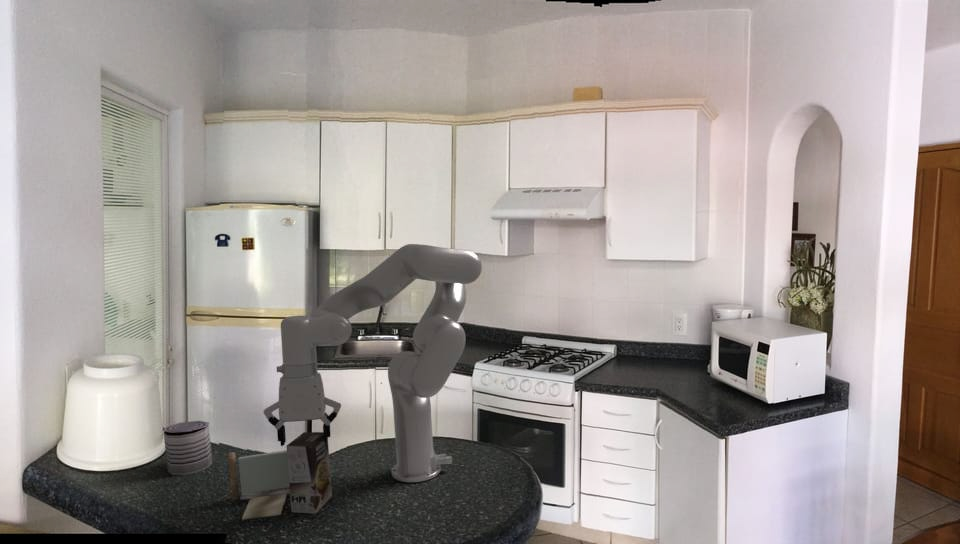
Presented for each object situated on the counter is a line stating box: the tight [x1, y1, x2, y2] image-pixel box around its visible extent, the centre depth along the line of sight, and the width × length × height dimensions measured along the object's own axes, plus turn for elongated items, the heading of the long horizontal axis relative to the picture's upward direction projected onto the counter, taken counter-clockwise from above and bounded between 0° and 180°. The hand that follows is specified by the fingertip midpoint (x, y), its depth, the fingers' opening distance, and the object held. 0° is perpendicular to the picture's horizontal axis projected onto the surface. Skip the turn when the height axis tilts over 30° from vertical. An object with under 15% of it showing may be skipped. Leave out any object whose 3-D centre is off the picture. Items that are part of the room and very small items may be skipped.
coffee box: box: [285, 431, 333, 515], centre depth 150 cm, size 9×6×16 cm
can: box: [161, 420, 213, 476], centre depth 176 cm, size 11×11×12 cm
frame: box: [227, 451, 290, 501], centre depth 156 cm, size 18×3×11 cm, turn 99°
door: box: [237, 449, 290, 495], centre depth 157 cm, size 12×1×9 cm, turn 105°
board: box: [241, 494, 288, 521], centre depth 150 cm, size 8×10×1 cm
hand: (304, 442), depth 148 cm, fingers open, 9 cm apart
